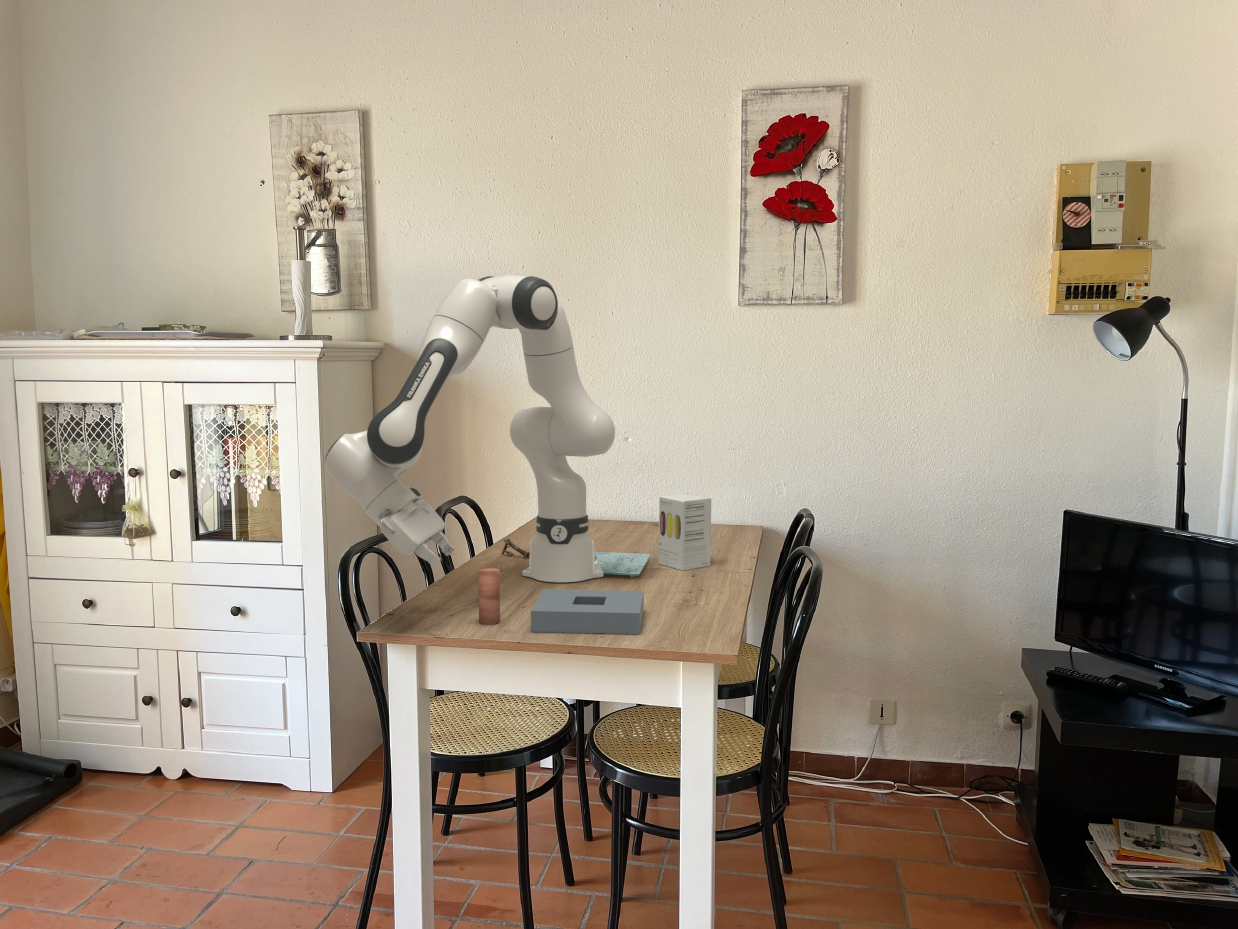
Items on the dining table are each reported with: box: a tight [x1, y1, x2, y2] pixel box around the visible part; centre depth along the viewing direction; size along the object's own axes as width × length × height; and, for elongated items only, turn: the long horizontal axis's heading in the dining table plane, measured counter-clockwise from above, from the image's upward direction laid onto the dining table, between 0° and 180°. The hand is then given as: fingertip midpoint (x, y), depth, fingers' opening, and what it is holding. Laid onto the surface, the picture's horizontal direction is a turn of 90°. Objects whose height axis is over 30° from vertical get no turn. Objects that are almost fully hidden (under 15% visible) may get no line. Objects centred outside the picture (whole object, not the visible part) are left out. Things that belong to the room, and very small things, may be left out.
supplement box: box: [658, 493, 712, 571], centre depth 224 cm, size 10×9×17 cm
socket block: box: [530, 588, 645, 635], centre depth 176 cm, size 16×20×4 cm
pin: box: [477, 567, 501, 626], centre depth 175 cm, size 4×4×10 cm
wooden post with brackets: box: [501, 538, 530, 559], centre depth 234 cm, size 2×8×4 cm, turn 63°
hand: (445, 558), depth 175 cm, fingers open, 8 cm apart
